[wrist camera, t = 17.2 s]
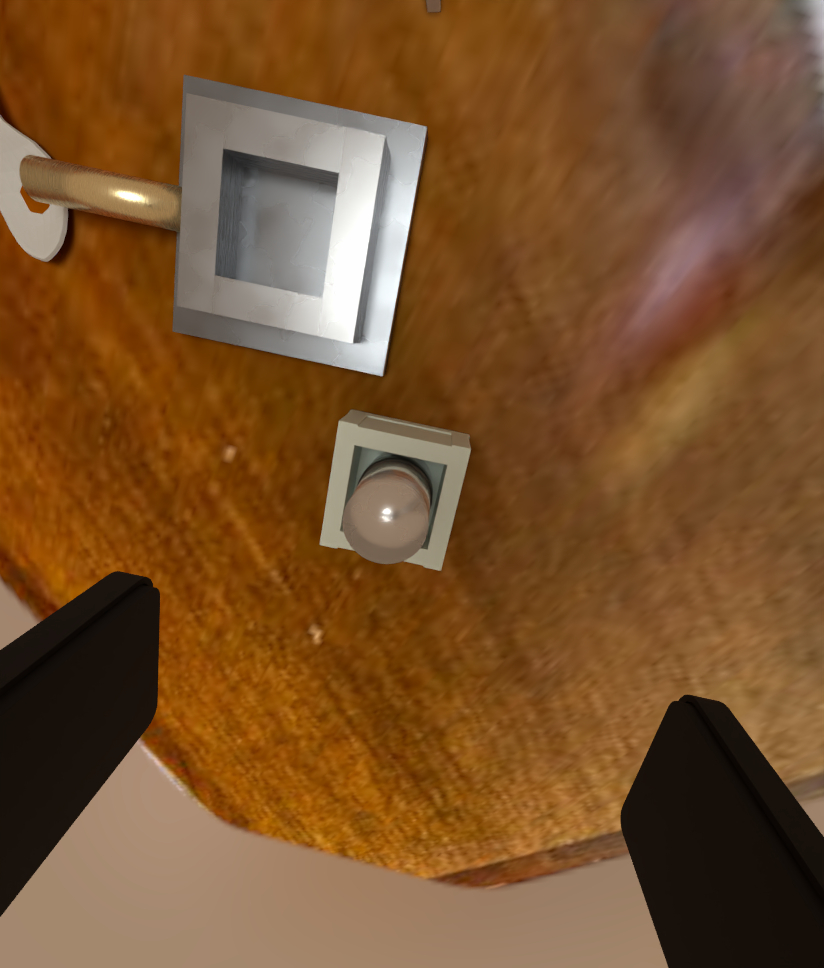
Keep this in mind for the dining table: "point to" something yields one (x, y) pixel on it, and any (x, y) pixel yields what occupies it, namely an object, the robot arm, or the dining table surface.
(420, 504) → the beige round-topped cylinder
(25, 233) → the spoon
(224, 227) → the grey square pan
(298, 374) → the dining table surface
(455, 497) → the pale square socket block
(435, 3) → the pliers
